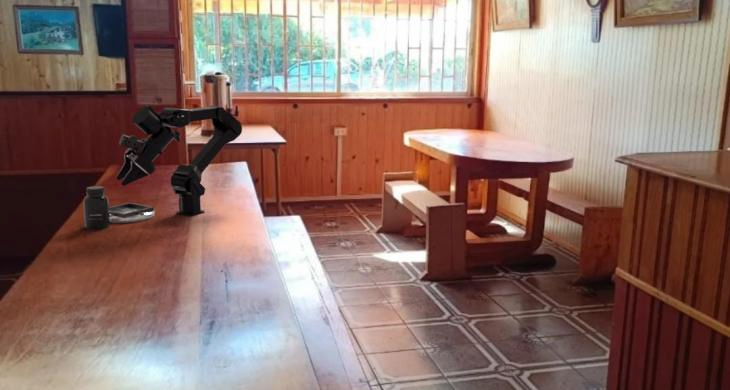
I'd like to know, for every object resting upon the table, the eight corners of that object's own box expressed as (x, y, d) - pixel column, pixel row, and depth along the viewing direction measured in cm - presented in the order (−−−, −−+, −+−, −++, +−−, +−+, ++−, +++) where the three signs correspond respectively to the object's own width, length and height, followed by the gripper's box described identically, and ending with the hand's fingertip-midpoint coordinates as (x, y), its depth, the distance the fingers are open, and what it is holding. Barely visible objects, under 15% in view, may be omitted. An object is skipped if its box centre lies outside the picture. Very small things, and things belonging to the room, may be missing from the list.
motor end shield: (165, 214, 200) (164, 206, 199) (123, 225, 186) (122, 217, 186) (131, 208, 208) (131, 200, 207) (89, 218, 194) (88, 209, 194)
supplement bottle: (93, 231, 180) (89, 191, 177) (80, 227, 184) (77, 187, 181) (115, 226, 185) (112, 187, 183) (102, 222, 189) (99, 184, 187)
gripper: (129, 121, 192) (93, 159, 189) (140, 128, 176) (101, 169, 173) (157, 145, 197) (123, 182, 194) (170, 154, 181) (133, 194, 178)
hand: (119, 181), depth 185 cm, fingers open, 9 cm apart
